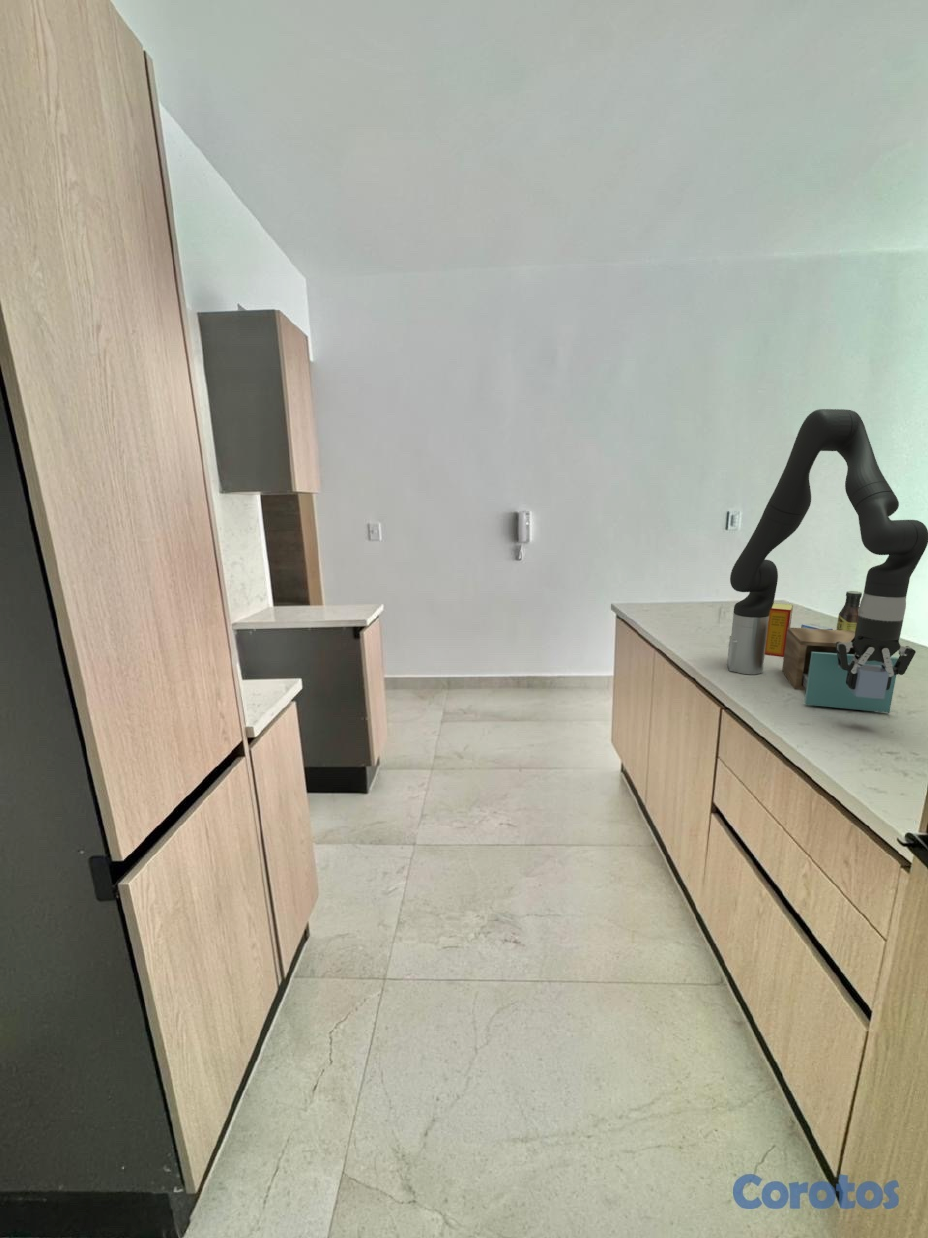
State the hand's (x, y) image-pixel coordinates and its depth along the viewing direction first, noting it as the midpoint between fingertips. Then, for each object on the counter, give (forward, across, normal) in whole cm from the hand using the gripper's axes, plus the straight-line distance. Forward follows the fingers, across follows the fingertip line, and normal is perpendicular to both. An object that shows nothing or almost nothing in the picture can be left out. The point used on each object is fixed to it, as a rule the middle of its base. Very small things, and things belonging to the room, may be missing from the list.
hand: (866, 689), depth 112 cm
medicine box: (+10, +6, +62) cm, 63 cm away
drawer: (+9, 0, +17) cm, 19 cm away
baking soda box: (+10, -6, +58) cm, 59 cm away
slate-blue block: (+1, 0, 0) cm, 1 cm away
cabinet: (+10, 0, +30) cm, 31 cm away
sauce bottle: (+10, +16, +66) cm, 68 cm away
